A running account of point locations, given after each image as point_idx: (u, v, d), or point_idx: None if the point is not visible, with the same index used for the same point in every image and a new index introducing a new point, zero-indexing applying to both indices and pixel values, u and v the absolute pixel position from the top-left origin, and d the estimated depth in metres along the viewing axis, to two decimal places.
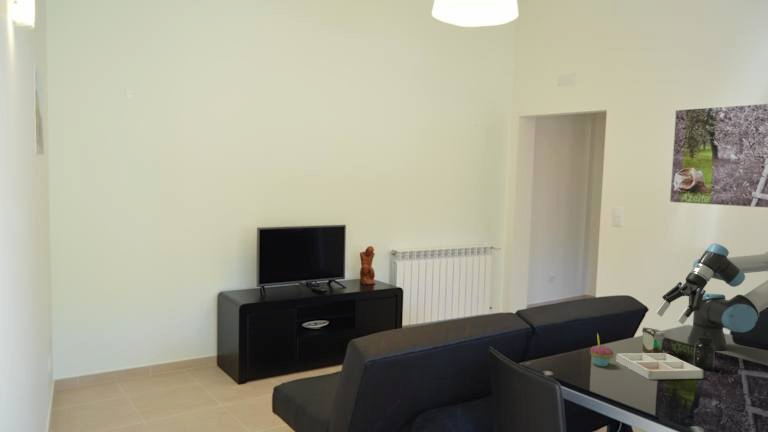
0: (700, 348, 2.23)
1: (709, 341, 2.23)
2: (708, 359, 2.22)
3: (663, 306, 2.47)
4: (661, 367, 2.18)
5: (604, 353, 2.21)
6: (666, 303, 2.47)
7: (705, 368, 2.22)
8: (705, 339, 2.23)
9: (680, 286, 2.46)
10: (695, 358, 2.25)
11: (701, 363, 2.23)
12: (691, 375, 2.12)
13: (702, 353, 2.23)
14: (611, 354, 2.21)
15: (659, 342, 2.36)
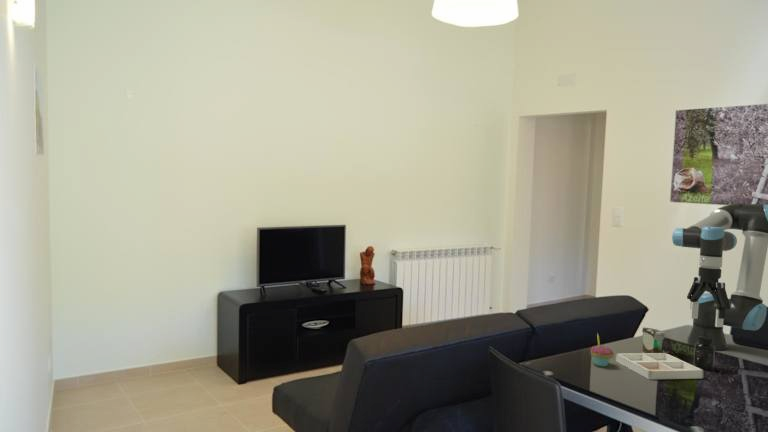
0: (700, 348, 2.23)
1: (709, 341, 2.23)
2: (708, 359, 2.22)
3: (693, 308, 2.31)
4: (661, 367, 2.18)
5: (604, 353, 2.21)
6: (694, 304, 2.31)
7: (705, 368, 2.22)
8: (705, 339, 2.23)
9: (698, 281, 2.29)
10: (695, 358, 2.25)
11: (701, 363, 2.23)
12: (691, 375, 2.12)
13: (702, 353, 2.23)
14: (611, 354, 2.21)
15: (659, 342, 2.36)
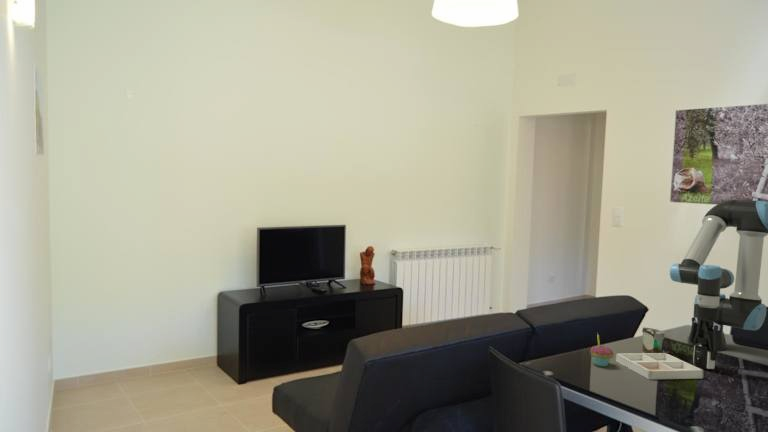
0: (700, 348, 2.23)
1: None
2: None
3: None
4: (661, 367, 2.18)
5: (604, 353, 2.21)
6: None
7: (705, 368, 2.22)
8: (705, 339, 2.23)
9: (696, 321, 2.29)
10: (695, 358, 2.25)
11: (701, 363, 2.23)
12: (691, 375, 2.12)
13: (702, 353, 2.23)
14: (611, 354, 2.21)
15: (659, 342, 2.36)
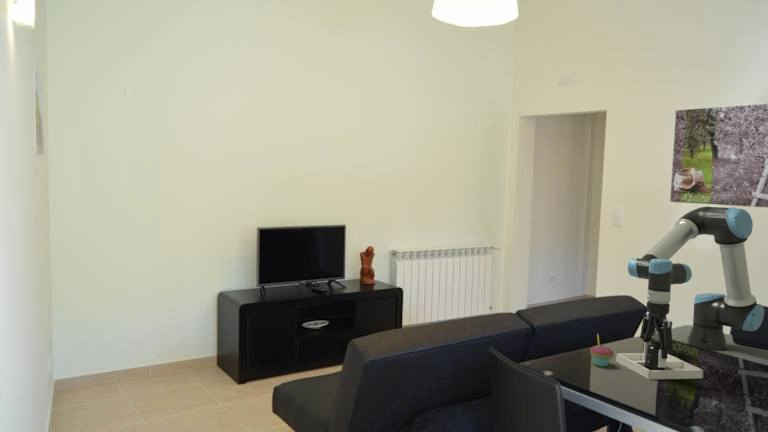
0: (651, 351, 2.12)
1: None
2: None
3: None
4: None
5: (604, 353, 2.21)
6: (647, 345, 2.19)
7: None
8: (657, 342, 2.12)
9: (647, 317, 2.19)
10: (646, 361, 2.15)
11: (651, 367, 2.13)
12: (691, 375, 2.12)
13: (653, 357, 2.12)
14: (611, 354, 2.21)
15: None
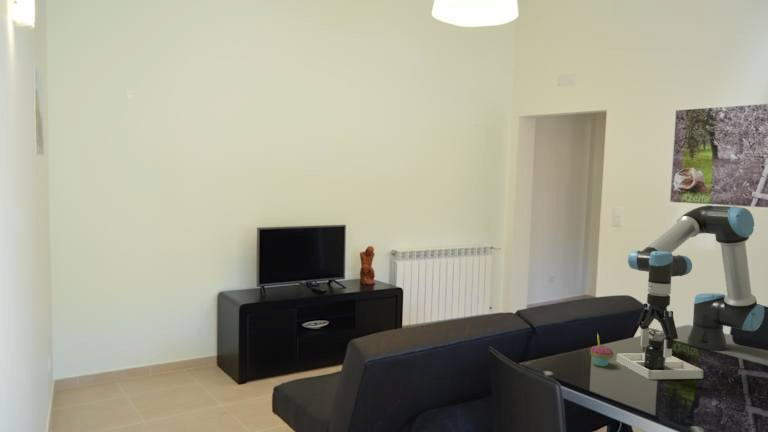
0: (650, 351, 2.13)
1: (659, 344, 2.12)
2: (658, 363, 2.12)
3: (643, 336, 2.21)
4: None
5: (604, 353, 2.21)
6: (644, 331, 2.21)
7: None
8: (655, 342, 2.13)
9: (647, 308, 2.19)
10: (645, 362, 2.15)
11: (651, 367, 2.13)
12: (691, 375, 2.12)
13: (652, 356, 2.12)
14: (611, 354, 2.21)
15: None
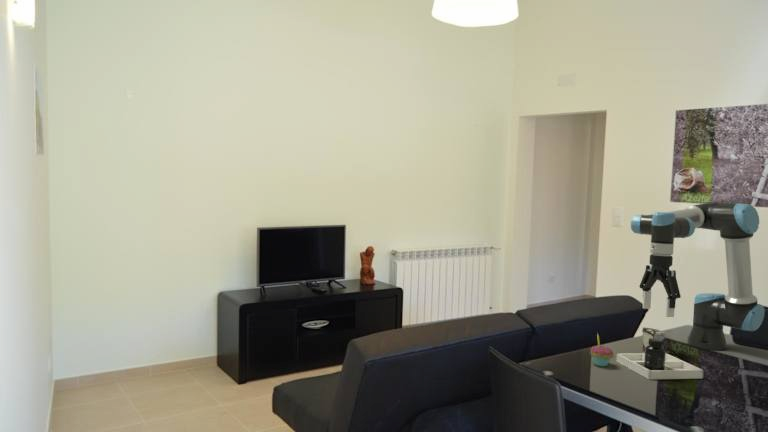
0: (650, 352, 2.13)
1: (659, 344, 2.12)
2: (658, 363, 2.12)
3: (646, 298, 2.21)
4: None
5: (604, 353, 2.21)
6: (647, 293, 2.21)
7: None
8: (655, 342, 2.13)
9: (649, 270, 2.19)
10: (645, 362, 2.15)
11: (651, 367, 2.13)
12: (691, 375, 2.12)
13: (652, 357, 2.12)
14: (611, 354, 2.21)
15: None
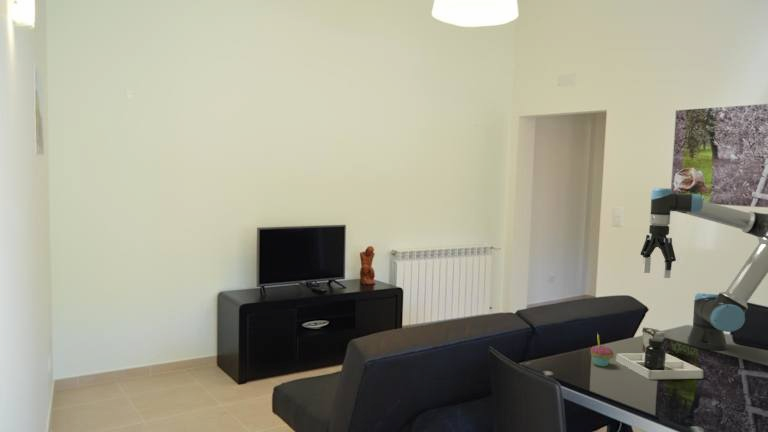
0: (650, 352, 2.13)
1: (659, 344, 2.12)
2: (658, 363, 2.12)
3: (646, 263, 2.54)
4: None
5: (604, 353, 2.21)
6: (647, 259, 2.54)
7: None
8: (655, 342, 2.13)
9: (649, 239, 2.52)
10: (645, 362, 2.15)
11: (651, 367, 2.13)
12: (691, 375, 2.12)
13: (652, 357, 2.12)
14: (611, 354, 2.21)
15: None
